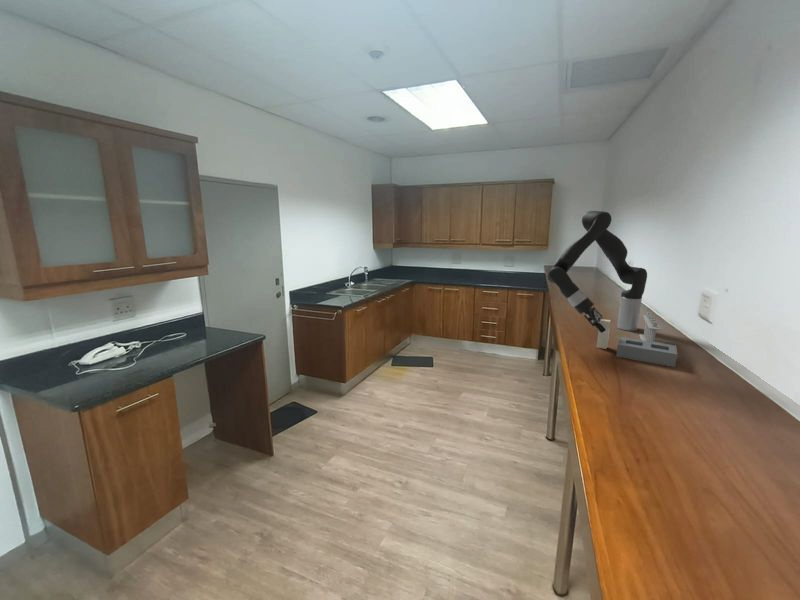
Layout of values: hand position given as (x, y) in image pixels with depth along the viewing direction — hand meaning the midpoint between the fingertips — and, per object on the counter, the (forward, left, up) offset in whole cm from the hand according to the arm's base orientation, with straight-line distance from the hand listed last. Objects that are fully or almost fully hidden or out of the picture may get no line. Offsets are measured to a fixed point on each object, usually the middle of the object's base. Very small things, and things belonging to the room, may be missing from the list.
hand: (605, 329), depth 158 cm
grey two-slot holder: (+3, +16, -9) cm, 19 cm away
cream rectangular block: (0, 0, -9) cm, 9 cm away
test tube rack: (-18, +17, -9) cm, 26 cm away
